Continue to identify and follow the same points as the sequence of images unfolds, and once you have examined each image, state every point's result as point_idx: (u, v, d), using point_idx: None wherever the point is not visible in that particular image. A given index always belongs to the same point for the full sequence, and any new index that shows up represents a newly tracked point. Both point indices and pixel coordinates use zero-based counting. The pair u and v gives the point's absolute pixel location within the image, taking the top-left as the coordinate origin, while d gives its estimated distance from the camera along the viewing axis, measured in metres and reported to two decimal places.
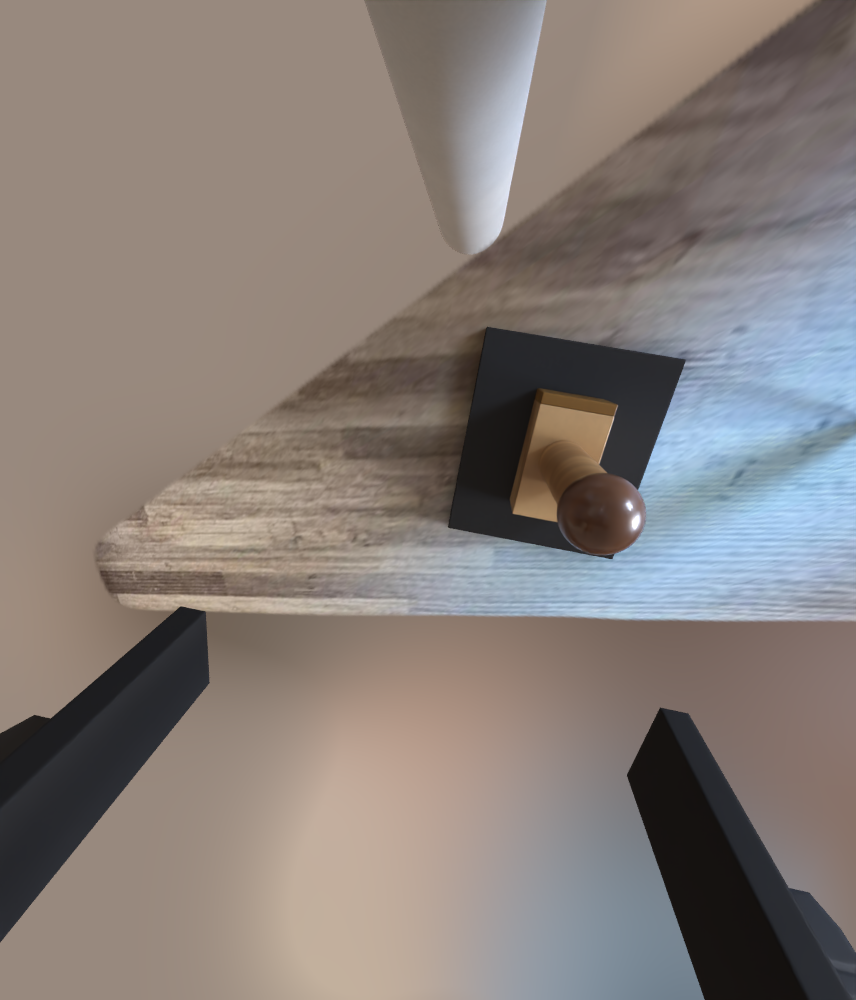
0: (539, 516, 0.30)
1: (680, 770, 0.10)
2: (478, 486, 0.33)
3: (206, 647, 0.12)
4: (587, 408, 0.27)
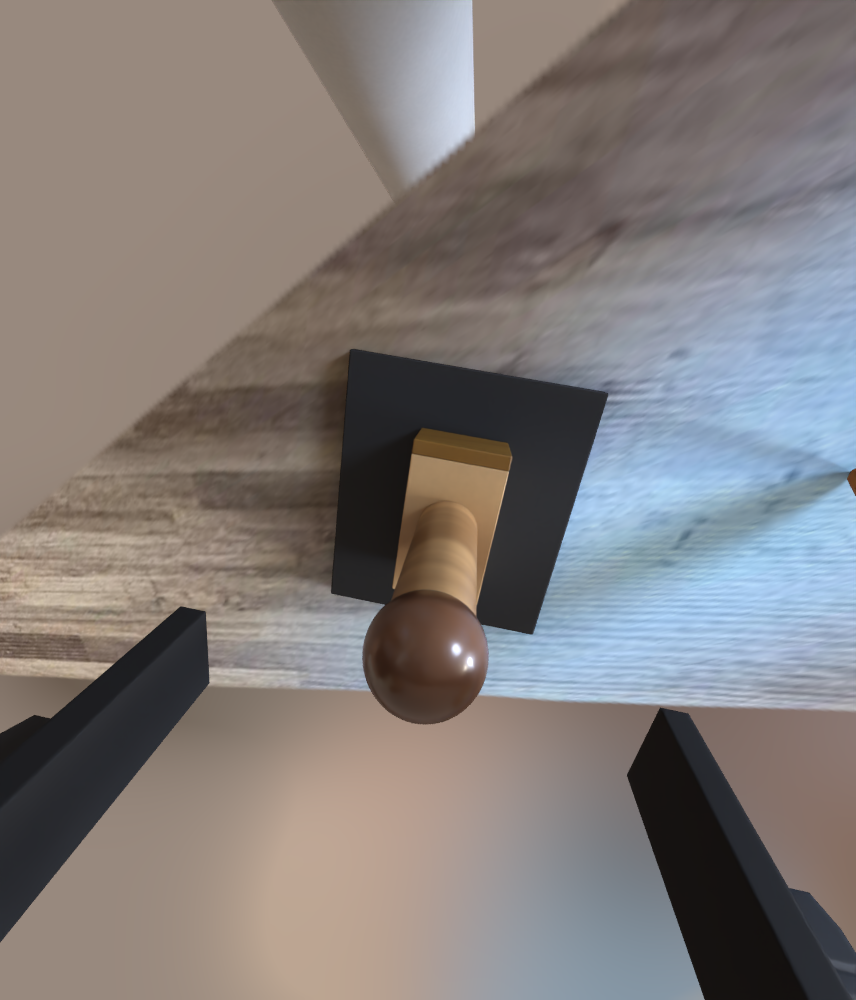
0: None
1: (680, 770, 0.10)
2: (361, 546, 0.26)
3: (205, 647, 0.12)
4: (473, 461, 0.20)
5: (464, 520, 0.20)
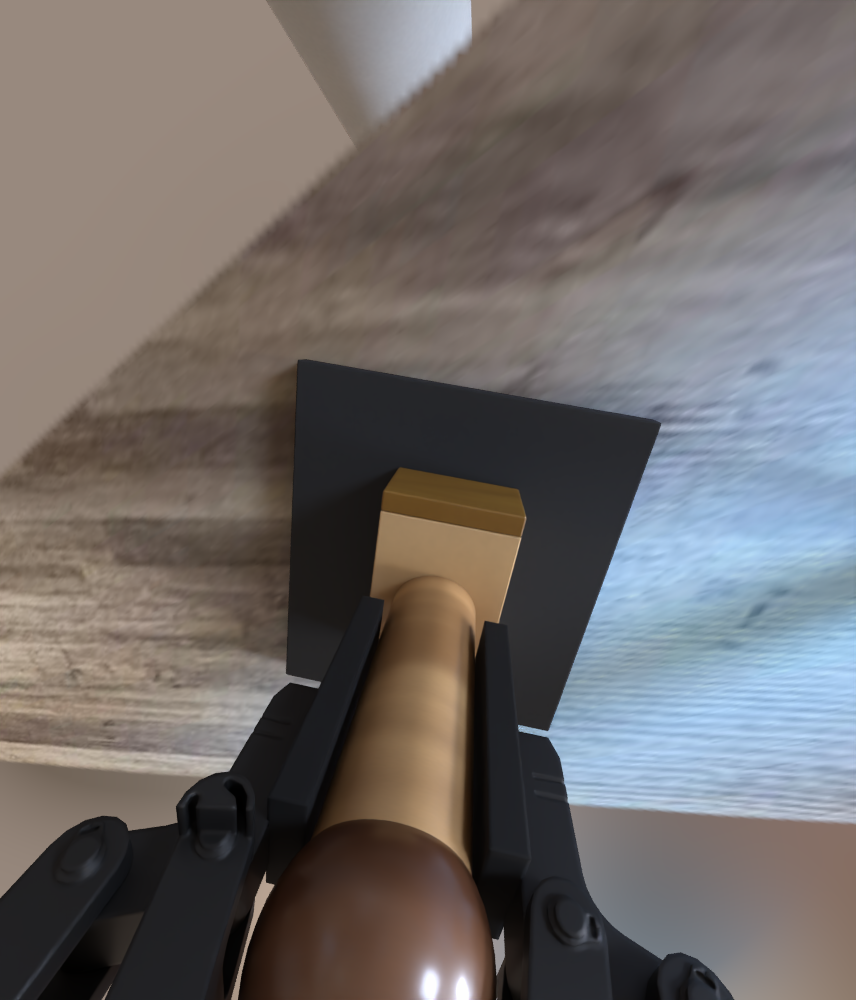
0: None
1: (482, 662, 0.12)
2: (323, 617, 0.20)
3: (378, 631, 0.14)
4: (469, 522, 0.14)
5: (456, 613, 0.13)
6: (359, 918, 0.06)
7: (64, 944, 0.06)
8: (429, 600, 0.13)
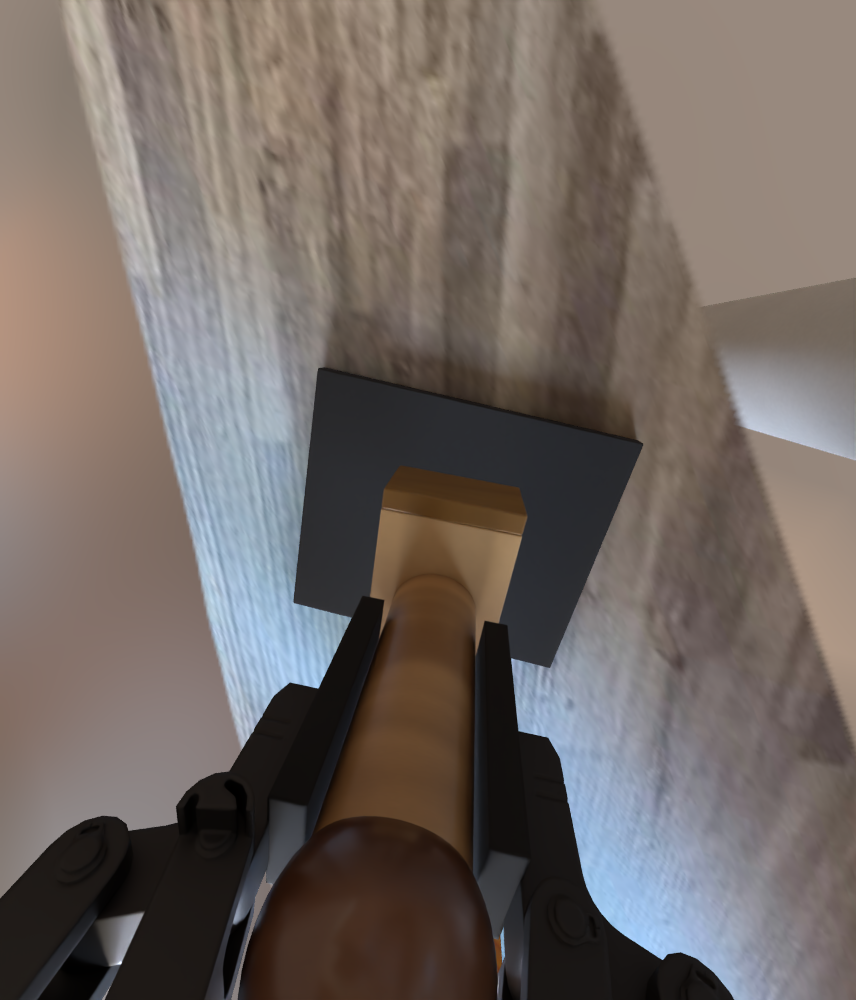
0: None
1: (482, 662, 0.12)
2: (394, 423, 0.20)
3: (378, 631, 0.14)
4: (470, 520, 0.14)
5: (457, 611, 0.13)
6: (360, 915, 0.06)
7: (64, 944, 0.06)
8: (430, 598, 0.13)
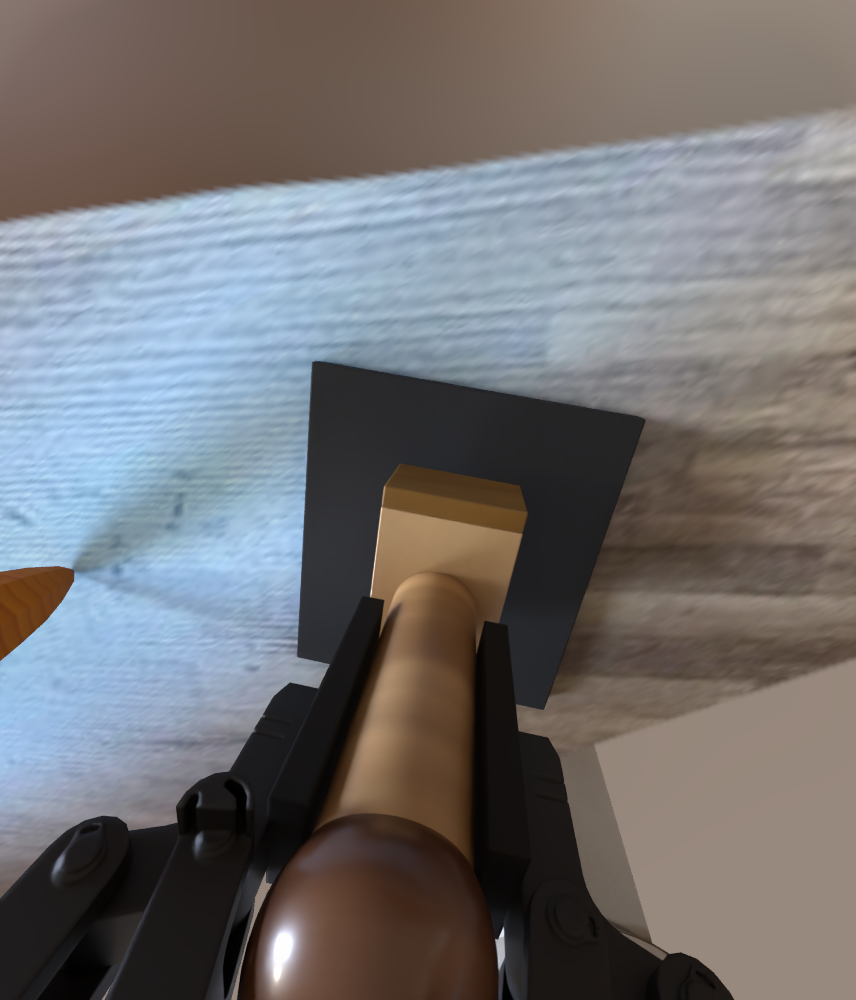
0: None
1: (482, 662, 0.12)
2: (572, 505, 0.18)
3: (378, 631, 0.14)
4: (470, 518, 0.14)
5: (457, 609, 0.13)
6: (360, 912, 0.06)
7: (64, 944, 0.06)
8: (430, 596, 0.13)
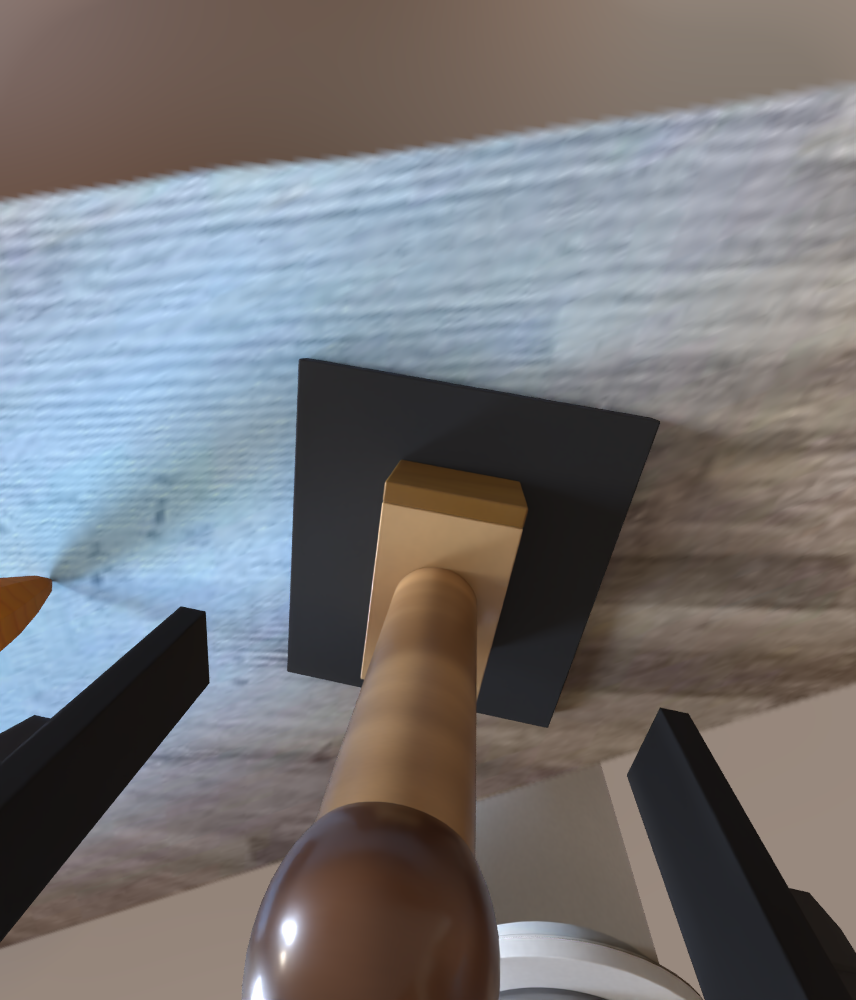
0: None
1: (680, 770, 0.10)
2: (580, 513, 0.17)
3: (205, 647, 0.12)
4: (471, 514, 0.14)
5: (458, 603, 0.13)
6: (364, 896, 0.06)
7: None
8: (431, 591, 0.13)
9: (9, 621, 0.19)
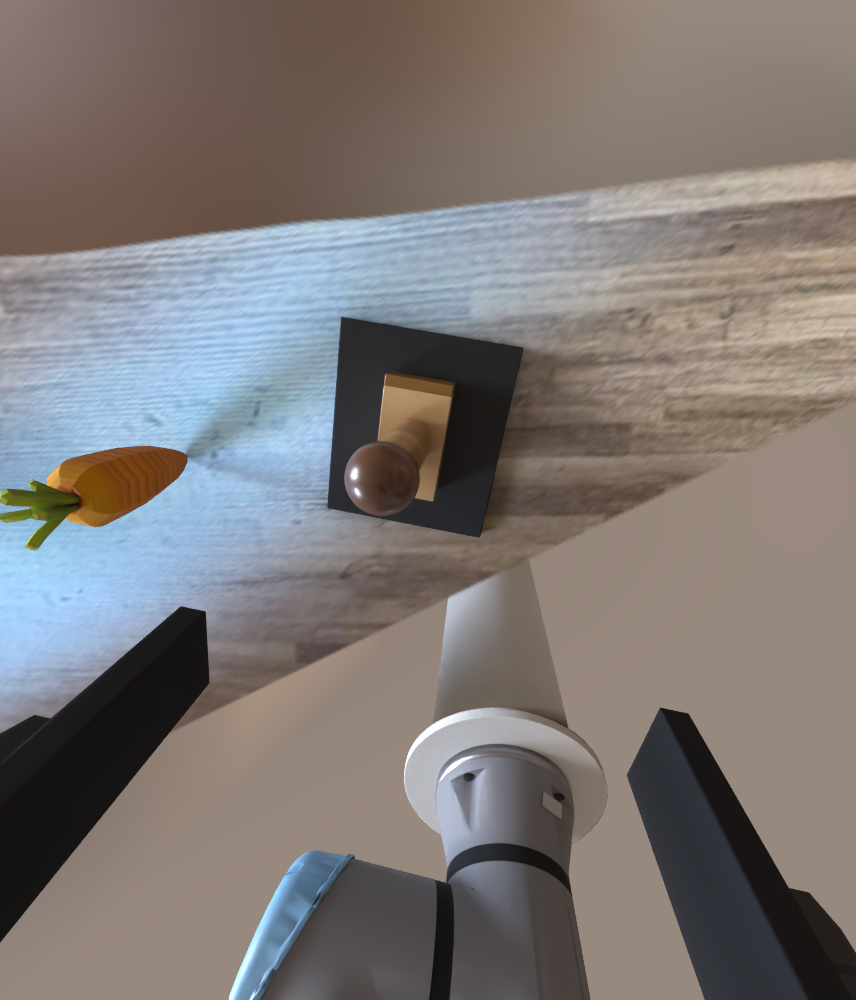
0: None
1: (680, 770, 0.10)
2: (487, 399, 0.32)
3: (206, 647, 0.12)
4: (426, 389, 0.29)
5: (419, 428, 0.28)
6: (379, 443, 0.21)
7: None
8: (407, 423, 0.28)
9: (175, 467, 0.34)
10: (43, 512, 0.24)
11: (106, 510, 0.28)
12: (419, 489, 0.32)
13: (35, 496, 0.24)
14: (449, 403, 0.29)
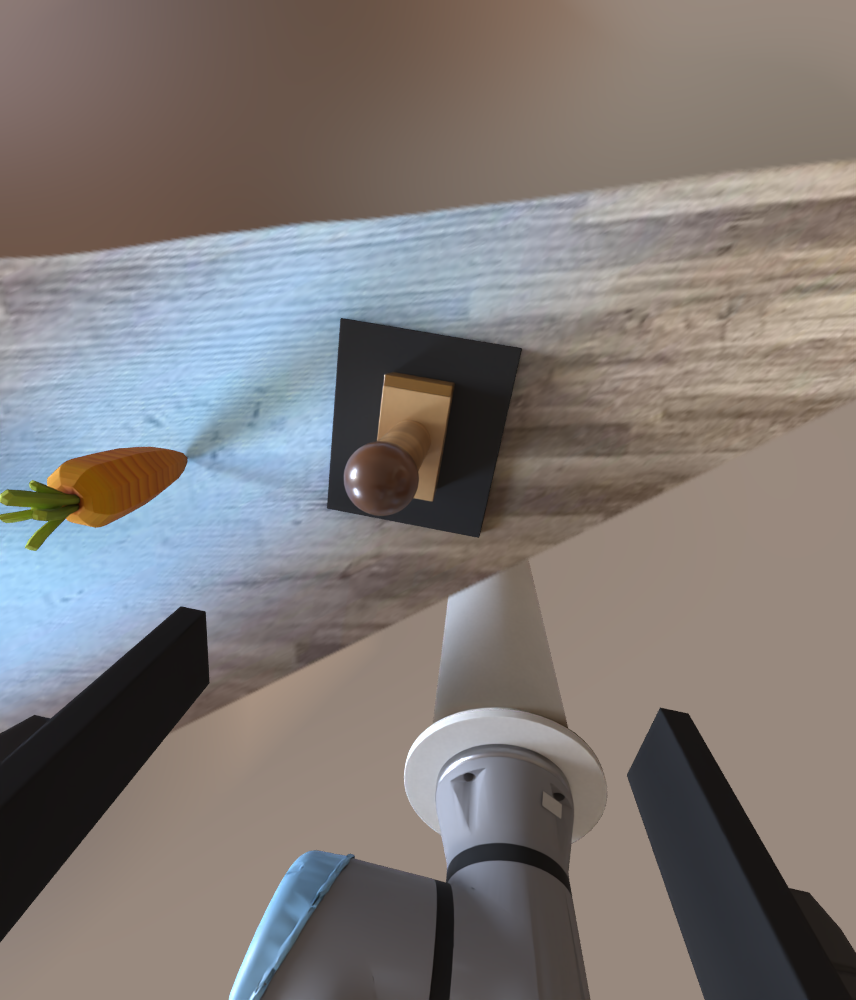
0: None
1: (680, 770, 0.10)
2: (486, 400, 0.32)
3: (206, 647, 0.12)
4: (425, 390, 0.29)
5: (418, 428, 0.28)
6: (378, 444, 0.21)
7: None
8: (406, 423, 0.29)
9: (175, 467, 0.34)
10: (43, 512, 0.24)
11: (107, 511, 0.28)
12: (418, 489, 0.32)
13: (35, 496, 0.24)
14: (448, 403, 0.29)
